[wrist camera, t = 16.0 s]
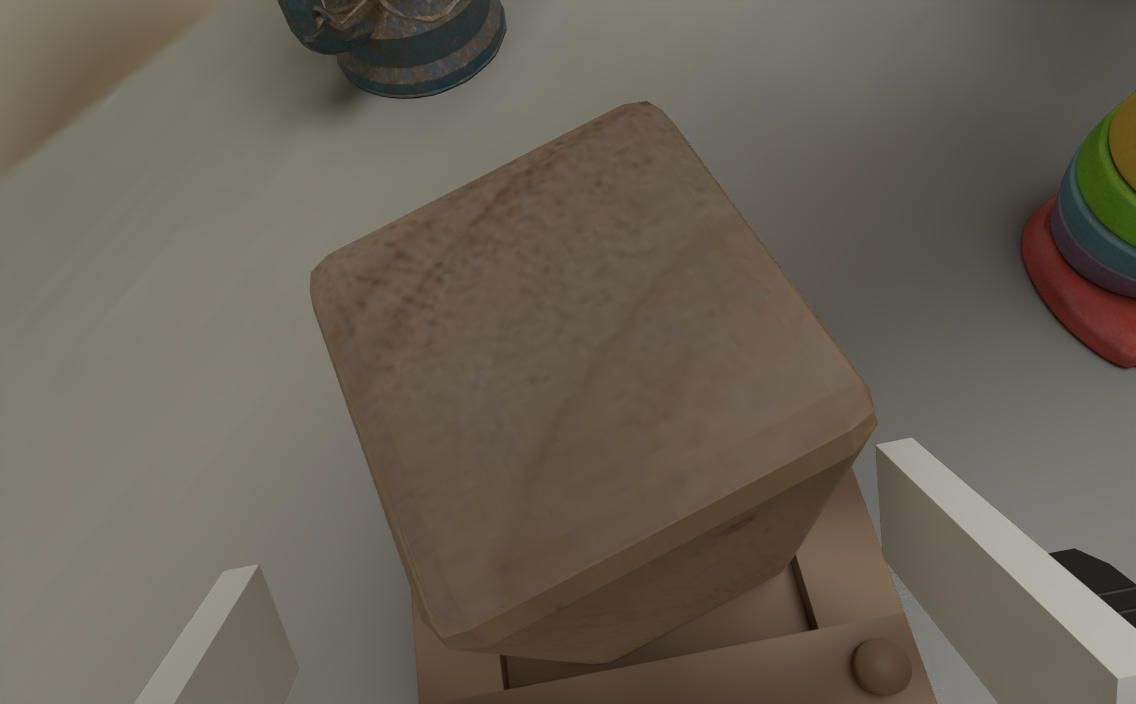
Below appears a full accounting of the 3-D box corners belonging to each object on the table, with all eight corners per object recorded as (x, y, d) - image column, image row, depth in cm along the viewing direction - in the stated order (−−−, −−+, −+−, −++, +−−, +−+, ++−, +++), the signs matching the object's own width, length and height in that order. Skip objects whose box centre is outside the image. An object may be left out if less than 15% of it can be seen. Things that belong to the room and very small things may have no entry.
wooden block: (800, 565, 31) (912, 413, 13) (592, 674, 31) (420, 670, 13) (685, 375, 36) (652, 69, 18) (502, 470, 35) (281, 258, 17)
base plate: (419, 386, 41) (387, 342, 36) (768, 316, 41) (784, 262, 36) (454, 794, 32) (419, 809, 27) (902, 708, 32) (948, 707, 27)
